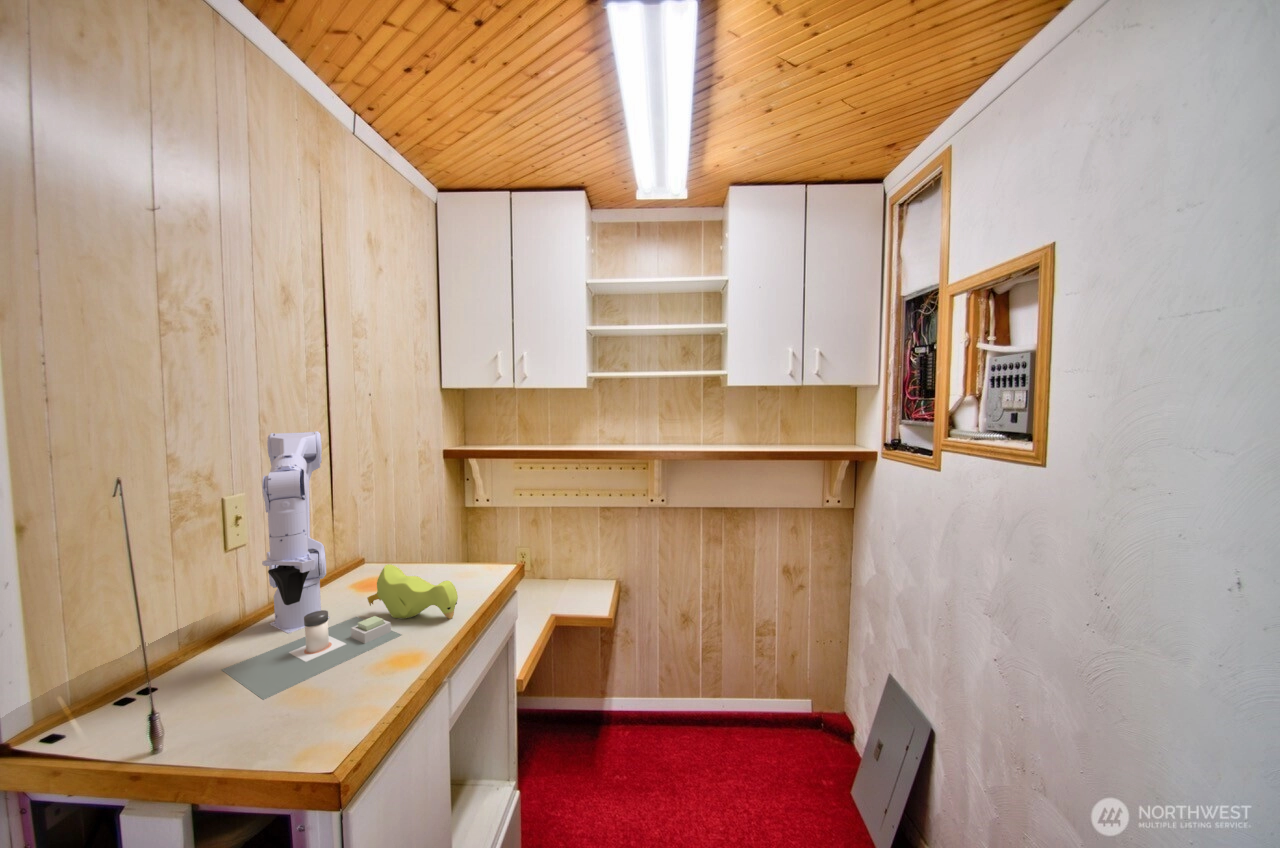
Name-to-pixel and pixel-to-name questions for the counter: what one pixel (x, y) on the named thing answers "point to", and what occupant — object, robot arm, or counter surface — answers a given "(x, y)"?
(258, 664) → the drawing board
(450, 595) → the toy
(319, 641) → the jar with dark lid
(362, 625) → the button
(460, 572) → the counter surface
